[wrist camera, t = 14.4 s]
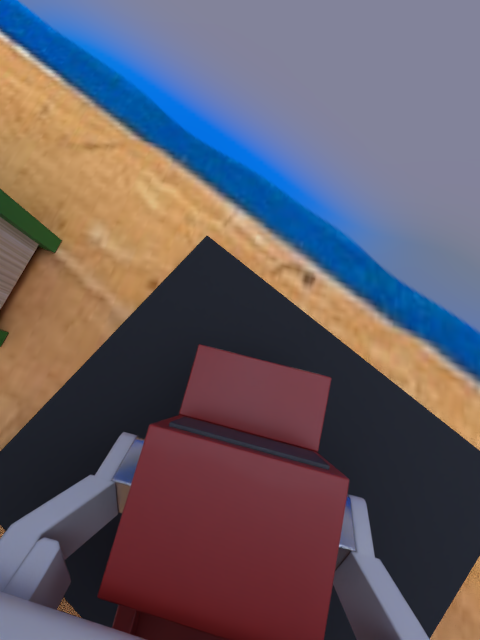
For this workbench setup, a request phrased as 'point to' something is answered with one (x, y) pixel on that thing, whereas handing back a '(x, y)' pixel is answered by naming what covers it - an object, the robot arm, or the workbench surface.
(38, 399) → the workbench surface
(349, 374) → the mat
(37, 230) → the hardback book
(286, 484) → the toy pickup truck
